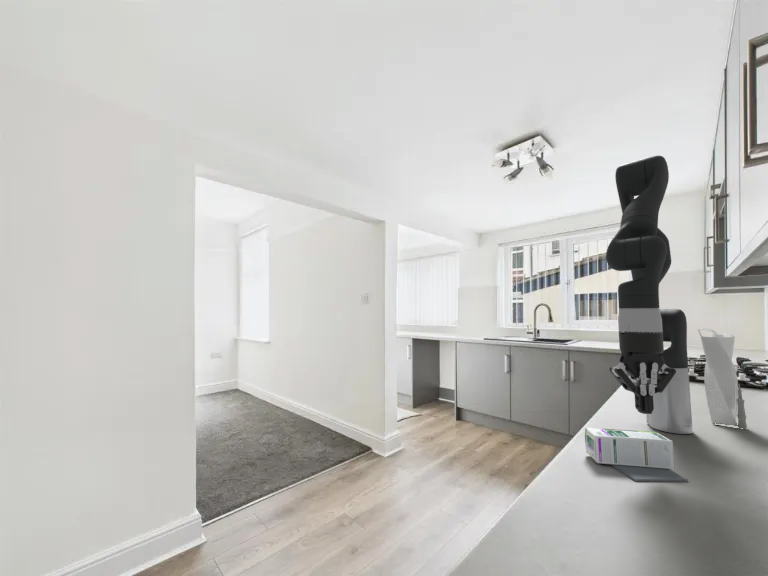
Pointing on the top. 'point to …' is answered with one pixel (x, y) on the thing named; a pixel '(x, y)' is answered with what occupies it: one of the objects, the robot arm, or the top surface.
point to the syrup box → (629, 448)
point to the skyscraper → (722, 380)
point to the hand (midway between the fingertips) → (644, 412)
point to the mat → (649, 473)
